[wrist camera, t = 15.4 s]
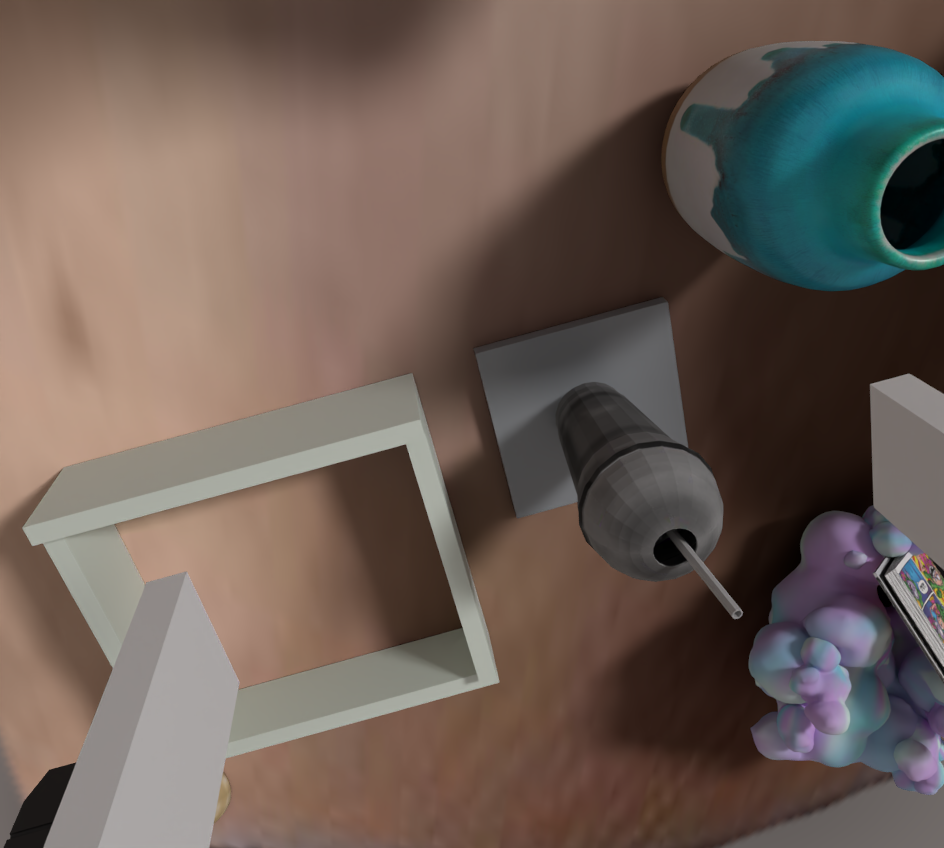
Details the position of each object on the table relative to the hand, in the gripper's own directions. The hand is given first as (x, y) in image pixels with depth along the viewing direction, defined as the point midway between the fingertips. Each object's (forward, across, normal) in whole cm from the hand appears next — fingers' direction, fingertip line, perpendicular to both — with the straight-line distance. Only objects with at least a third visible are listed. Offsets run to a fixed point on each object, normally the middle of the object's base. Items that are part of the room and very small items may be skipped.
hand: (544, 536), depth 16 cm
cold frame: (+35, -14, -20) cm, 42 cm away
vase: (+35, +18, -1) cm, 39 cm away
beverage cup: (+34, +7, -15) cm, 38 cm away
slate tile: (+35, +7, -15) cm, 38 cm away
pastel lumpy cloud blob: (+35, +24, -35) cm, 55 cm away
